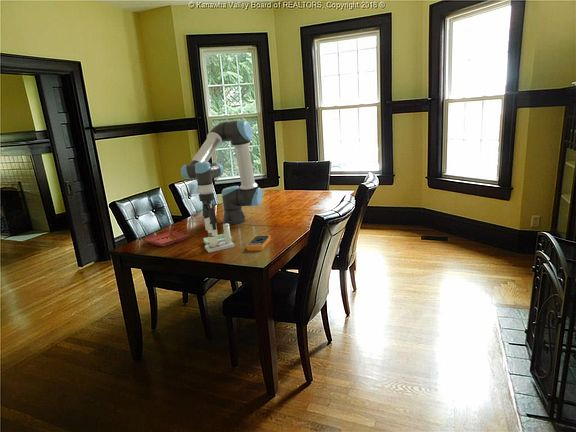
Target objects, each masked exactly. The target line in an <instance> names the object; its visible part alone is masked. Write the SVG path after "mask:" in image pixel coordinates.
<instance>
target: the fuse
mask: <svg viewBox="0 0 576 432" xmlns="http://www.w3.org/2000/svg"><path fill="white" fill-rule="evenodd" d="M222 227H223V234H224V236H225V243H226V244H230V243H231V237H232V236H231V231H230V230H231V229H230V225H229V224H228V223H226V224H222Z"/></svg>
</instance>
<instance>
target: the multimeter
mask: <svg viewBox="0 0 576 432" xmlns="http://www.w3.org/2000/svg"><path fill="white" fill-rule="evenodd" d="M271 240H272V237H271V235H270V234H258V235H255V236H254V237H253V239H252V240H251V241H250V242H249V243H248V244H246V250H247V251H248V252H261V251H263V250H264V248H265V247H266V246H267V245H268V244H269V243H270V241H271Z"/></svg>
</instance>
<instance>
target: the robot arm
mask: <svg viewBox="0 0 576 432" xmlns="http://www.w3.org/2000/svg"><path fill="white" fill-rule="evenodd" d="M251 125H252V124H250V122H248V120H240V119H239V120H229V121H223V122H220V123H218V124H217V125H215V126H214V127H213V128H211V130H210V131H209V132H208V133H207V134H206V139H205V141H204V142H203V144H202V145H201V146H200V147H199V149H198V151H197V153H195V155H194V156H193V158H192V160H191V161H190V162H189V164H184V165H182V166H181V167H180V175H181V176H182V178H183V179H185V180H196V183H197V184H196V185H197V187H196V190H197V191H198V193H199V194H198V198H199V199H198V200H199V201H200V202H201V204H202V206H201V208H202V217H203V220H204V227H205V231H208V229H207V227H210V226H211V231H212V236H217V235H219V234H218V228H217V226H218V225H217V223H218V219H217V216H216V211H215V206H214V203H212V201H213V200H215V193H214V185H213V179H217V178H219V177H221V176H222V175H223V174H224V170H225V169H224V166H223V165H222V163H219V162H212V163H211V162H209V160H210V159H211V157H212V155H213V154H214V153H215V151H216V150H217V148H218V147H219V146H220V147H221V145H222V144H223V143H225V142H230V144H231V146H232V147H234V151H235V158H236V163H237V169H238V173H239V178H240V179H239V180H240V185H232V186H229V187H225V188H223V189H222V191H221V199H222V205H223V216H222V223H223V224H226V223H228V224H229V226H230V225H238V224H243V223H244V222H246V219H247V218H246V215H245V214H244V211H243V208H242V207H253V208H254V207H259V206H260V205H261V204H262V201H263V195H264V192H263V189H262V188H261V187H259V184H258V183H257V182H256V181H255V175H254V170H253V164H252V159H251V158H252V157H251V153H250V152H251V151H250V148H249V145H250V143H251V140H252V139H253V136H254V135H253V128H252V126H251ZM223 224H222V225H223Z"/></svg>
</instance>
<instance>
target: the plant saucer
mask: <svg viewBox="0 0 576 432" xmlns="http://www.w3.org/2000/svg"><path fill="white" fill-rule="evenodd" d="M170 235H173V236H177V237H178V238H177V239H176V238H175V239H174V240H172V239H170V238H169V237H168V236H170ZM188 236H189V233H183V232H178V231H173V230H171V231H166V232H164V233H160V234H157V235H154V236H151V237H147V238H145V241H146V242H147V243H149V244H150V243H151V245H154V244H155V246H158V245H159V246H158V247H161V246H163V247H162V248H165V247H164V246H166V247H168V246H171V245H174V244H176V243H175V242H177V243H180V242H182V241H181V240H183V241H185V240H186V239H187V238H188ZM165 237H168V239H167V238H165ZM162 238H164V239H162ZM158 239H159V240H158ZM184 239H185V240H184ZM179 241H180V242H179ZM173 243H174V244H173ZM170 244H171V245H170ZM167 245H168V246H167Z"/></svg>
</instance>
